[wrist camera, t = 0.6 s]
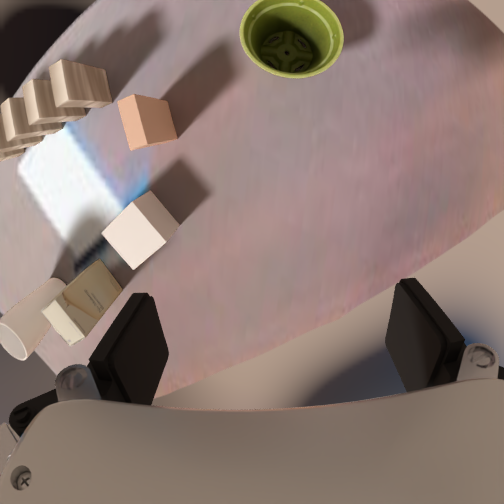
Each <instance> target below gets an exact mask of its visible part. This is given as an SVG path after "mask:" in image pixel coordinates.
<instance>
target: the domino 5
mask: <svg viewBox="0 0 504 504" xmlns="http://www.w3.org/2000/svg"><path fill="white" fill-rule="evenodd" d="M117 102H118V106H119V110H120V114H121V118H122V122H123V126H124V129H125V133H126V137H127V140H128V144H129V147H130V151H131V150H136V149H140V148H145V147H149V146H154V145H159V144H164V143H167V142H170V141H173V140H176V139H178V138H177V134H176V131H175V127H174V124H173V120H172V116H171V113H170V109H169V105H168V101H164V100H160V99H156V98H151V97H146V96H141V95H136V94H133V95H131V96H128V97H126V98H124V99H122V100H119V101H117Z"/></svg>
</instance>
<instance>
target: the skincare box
mask: <svg viewBox="0 0 504 504" xmlns="http://www.w3.org/2000/svg"><path fill="white" fill-rule="evenodd" d="M122 291H123V289H122V288H121V287H120V285H119V284H118V283H117V281H116V280H115V278H114V277H113V276H112V274H111V273H110V272H109V270H108V269H107V268H106V266H105V265H104V263H103V262H102V261H101V259H98V260H97V261H95V262H94V263H92V264H91V265H90V266H89V267H87V268H86V269H85V270H84V271H83V272H81V273H80V274H79V275H78V276H77V277H76V278H75V279H74V280H73V281H72V282H70V283H69V284H68V285H67V286H66V287H65V288H64V289H63V290H62V291H61V292H60V293H59V294H58V295H57V296H55V297H54V298H53V299H52V300H51V301H50V302H49V303H48V304H47V305H46V306H45V307H44V308H43V309H42V310H41V312H42V314H43V315H44V316H45V318H46V319H47V320H48V321H49V323H50V324H51V325H52V326H53V328H54V329H55V330H56V331H57V332H58V334H59V335H60V336H61V337H62V338H63V339H64V341H65V342H66V343H67V344H68V345H69V346H72V345H74V344H76V343H78V342H80V341H81V340H83V339H85V338H86V336H87V335H88V334H89V333H90V331H91V330H92V329H93V327H94V326H95V325H96V324H97V322H98V321H99V320H100V318H101V317H102V316H103V315H104V313H105V312H106V311H107V310H108V308H109V307H110V306H111V304H112V303H113V302H114V301H115V299H116V298H117V297H118V296H119V294H120V293H121V292H122Z"/></svg>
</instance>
